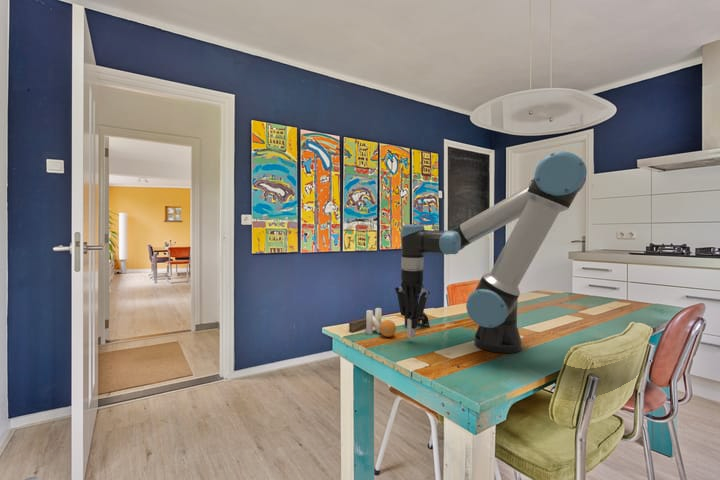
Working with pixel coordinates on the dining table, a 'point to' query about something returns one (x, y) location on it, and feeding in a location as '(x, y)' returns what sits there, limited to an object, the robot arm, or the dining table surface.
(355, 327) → the back wall
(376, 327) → the front pin
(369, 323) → the pin
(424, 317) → the pottery mug
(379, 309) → the pin
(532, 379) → the dining table surface
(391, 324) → the ball
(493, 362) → the dining table surface
